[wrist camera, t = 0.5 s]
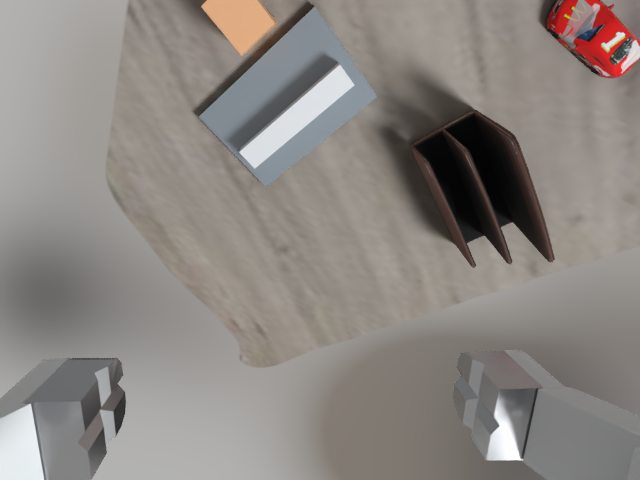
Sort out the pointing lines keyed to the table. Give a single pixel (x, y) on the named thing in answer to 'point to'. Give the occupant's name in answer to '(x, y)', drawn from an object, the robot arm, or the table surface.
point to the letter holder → (481, 184)
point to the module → (240, 21)
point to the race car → (594, 36)
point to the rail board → (289, 99)
